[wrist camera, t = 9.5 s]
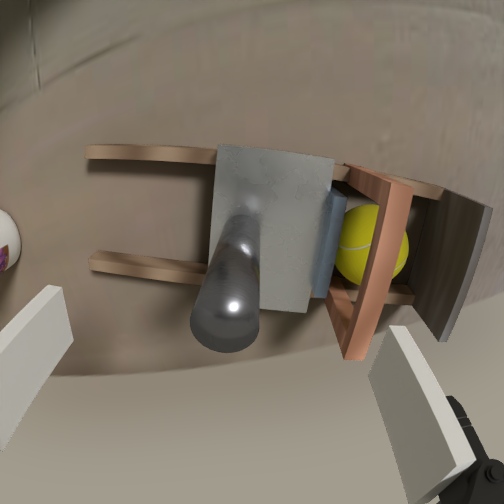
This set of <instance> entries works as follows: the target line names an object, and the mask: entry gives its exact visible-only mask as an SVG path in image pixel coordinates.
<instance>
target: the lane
mask: <svg viewBox="0 0 504 504" xmlns="http://www.w3.org/2000/svg"><path fill="white" fill-rule="evenodd" d="M217 150H218V149H213V148H200V147H185V146H166V145H138V144H95V145H87V146H85V159H131V160H154V161H172V162H187V163H200V164H212V165H216V160H217ZM332 179H333V180H339V181H344V182H345V183H347V184H349V185H350V186H352V187H353V188H355V189H357V190H358V191H360V192H361V193H363V194H364V195H366V196H367V197H369V198H370V199H372V200H373V201H375V202H376V203H378V204H379V210H378V214H377V219H376V224H375V228H374V233H373V237H372V241H371V246H370V250H369V254H368V258H367V262H366V266H365V270H364V273H363V277H362V281H361V285H357V284H355V283H353V282H351V281H350V280H348V279H340V278H339V277H338V276H332V277H331V281H330V285H329V290H328V294H327V298H321V299H324V301H325V304H326V307H327V310H328V313H329V316H330V319H331V322H332V325H333V328H334V331H335V334H336V337H337V340H338V343H339V346H340V349H341V352H342V355H343V359H344V360H364V358H365V355H366V353H367V350H368V348H369V345H370V343H371V340H372V337H373V334H374V332H375V329H376V326H377V323H378V320H379V317H380V314H381V312H382V309H383V305H384V304H397V305H412V306H413V308H414V309H415V310H416V312H417V313H418V314H419V316H420V317H421V318H422V320H423V321H424V322H425V324H426V325H427V327H428V328H429V329H430V331H431V332H432V333H433V335H434V336H435V338H436V339H437V340H438V342H447V340H448V338H449V336H450V334H451V331H452V329H453V327H454V325H455V322H456V320H457V318H458V315H459V313H460V310H461V308H462V306H463V303H464V300H465V298H466V295H467V293H468V290H469V287H470V285H471V282H472V279H473V276H474V273H475V270H476V267H477V264H478V261H479V258H480V255H481V252H482V248H483V245H484V242H485V238H486V234H487V231H488V227H489V223H490V219H491V215H492V211H493V208H491V207H488V206H486V205H484V204H482V203H479V202H477V201H475V200H472V199H470V198H468V197H465V196H463V195H460V194H458V193H456V192H453V191H451V190H448V189H446V188H443V187H440V186H437V185H433V184H429V183H425V182H421V181H416V180H412V179H408V178H403V177H399V176H395V175H390V174H385V173H380V172H376V171H372V170H369V169H366V168H364V167H361V166H356V165H351V164H345V163H344V165H339V164H334V170H333V177H332ZM413 195H417V196H421V197H426V198H430V200H429V205H428V209H427V214H426V218H425V222H424V226H423V230H422V234H421V238H420V242H419V246H418V249H417V253H416V256H415V260H414V263H413V267H412V270H411V273H410V277H409V280H408V283H407V285H402V284H391V280H392V277H393V273H394V270H395V266H396V263H397V259H398V255H399V252H400V248H401V244H402V240H403V236H404V232H405V228H406V224H407V220H408V215H409V211H410V206H411V202H412V197H413ZM88 263H89V270H95V271H101V272H108V273H114V274H121V275H128V276H134V277H141V278H148V279H155V280H163V281H170V282H177V283H185V284H193V285H201V286H202V283H203V280H204V278H205V275H206V272H207V270H208V264H204V263H195V262H187V261H179V260H171V259H163V258H155V257H147V256H139V255H131V254H123V253H116V252H108V251H100V250H98V251H97V252H96V253H94V254H93V255H92V256H91V257H90V258H88ZM310 298H317V297H314V293H313V290H312V289H311V294H310ZM351 301H356V302H355V306H354V307H353V305H352V303H351Z"/></svg>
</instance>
